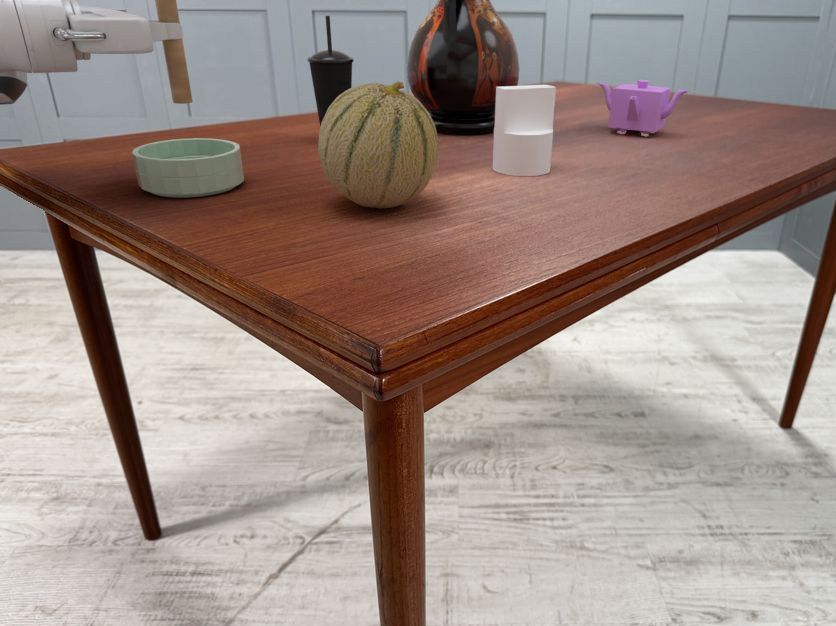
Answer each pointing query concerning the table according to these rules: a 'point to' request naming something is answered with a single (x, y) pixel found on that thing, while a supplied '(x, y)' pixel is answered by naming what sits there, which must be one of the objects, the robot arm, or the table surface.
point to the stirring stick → (174, 54)
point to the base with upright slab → (523, 130)
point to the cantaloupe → (378, 145)
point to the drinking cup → (329, 74)
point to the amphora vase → (462, 65)
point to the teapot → (639, 106)
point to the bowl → (188, 167)
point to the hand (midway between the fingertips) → (177, 29)
